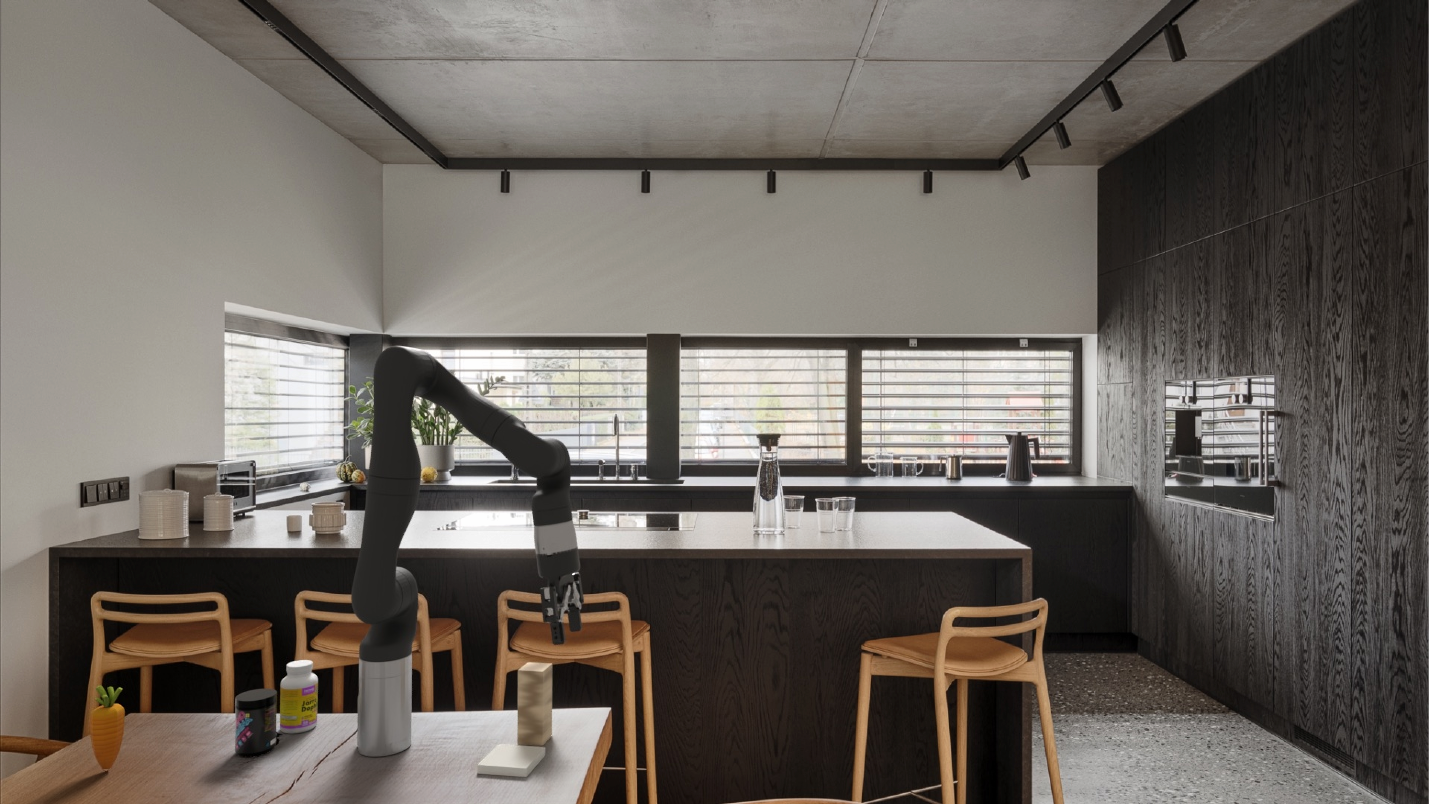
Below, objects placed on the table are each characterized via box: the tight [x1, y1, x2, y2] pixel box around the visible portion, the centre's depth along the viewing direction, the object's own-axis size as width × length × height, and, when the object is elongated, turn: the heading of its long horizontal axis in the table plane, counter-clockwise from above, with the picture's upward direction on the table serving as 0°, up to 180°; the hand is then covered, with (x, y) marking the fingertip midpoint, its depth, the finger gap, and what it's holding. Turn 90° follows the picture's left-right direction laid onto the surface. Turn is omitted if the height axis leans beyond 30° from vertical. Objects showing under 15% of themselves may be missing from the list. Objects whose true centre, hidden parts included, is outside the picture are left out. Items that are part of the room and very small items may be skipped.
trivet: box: [476, 743, 546, 778], centre depth 144 cm, size 9×9×2 cm
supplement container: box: [234, 688, 278, 758], centre depth 150 cm, size 7×7×10 cm
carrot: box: [89, 685, 126, 770], centre depth 141 cm, size 5×5×15 cm
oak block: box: [516, 661, 553, 747], centre depth 155 cm, size 5×5×14 cm
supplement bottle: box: [279, 659, 319, 734], centre depth 161 cm, size 7×7×13 cm
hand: (568, 637), depth 146 cm, fingers open, 8 cm apart
